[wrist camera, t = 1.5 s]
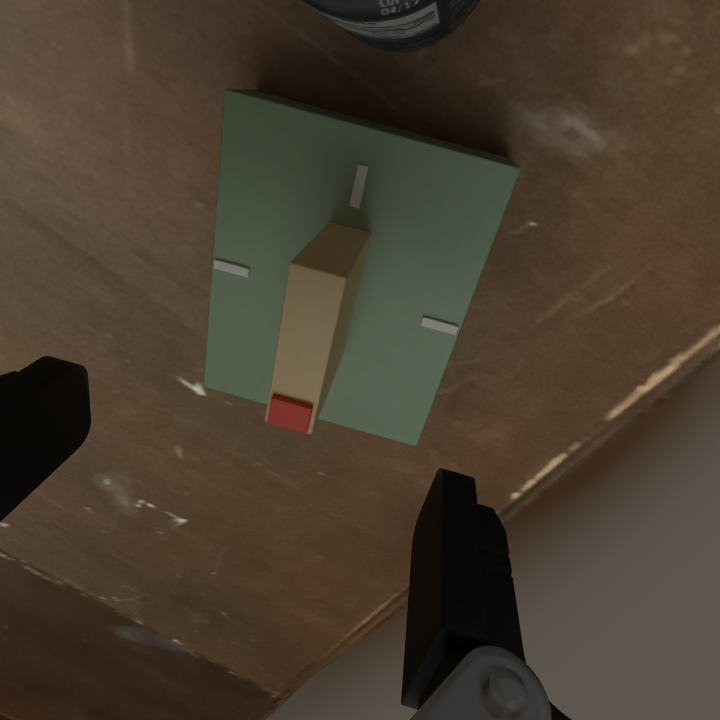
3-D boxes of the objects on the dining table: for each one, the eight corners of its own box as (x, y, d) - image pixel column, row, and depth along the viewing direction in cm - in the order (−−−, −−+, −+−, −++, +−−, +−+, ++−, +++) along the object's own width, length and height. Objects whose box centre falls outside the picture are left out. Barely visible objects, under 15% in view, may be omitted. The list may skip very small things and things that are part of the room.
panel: (255, 90, 18) (222, 88, 15) (510, 158, 18) (522, 168, 15) (228, 356, 24) (201, 388, 21) (419, 409, 24) (416, 449, 21)
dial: (328, 220, 17) (286, 264, 12) (372, 232, 17) (345, 280, 12) (303, 351, 20) (261, 426, 15) (340, 361, 20) (309, 440, 15)
